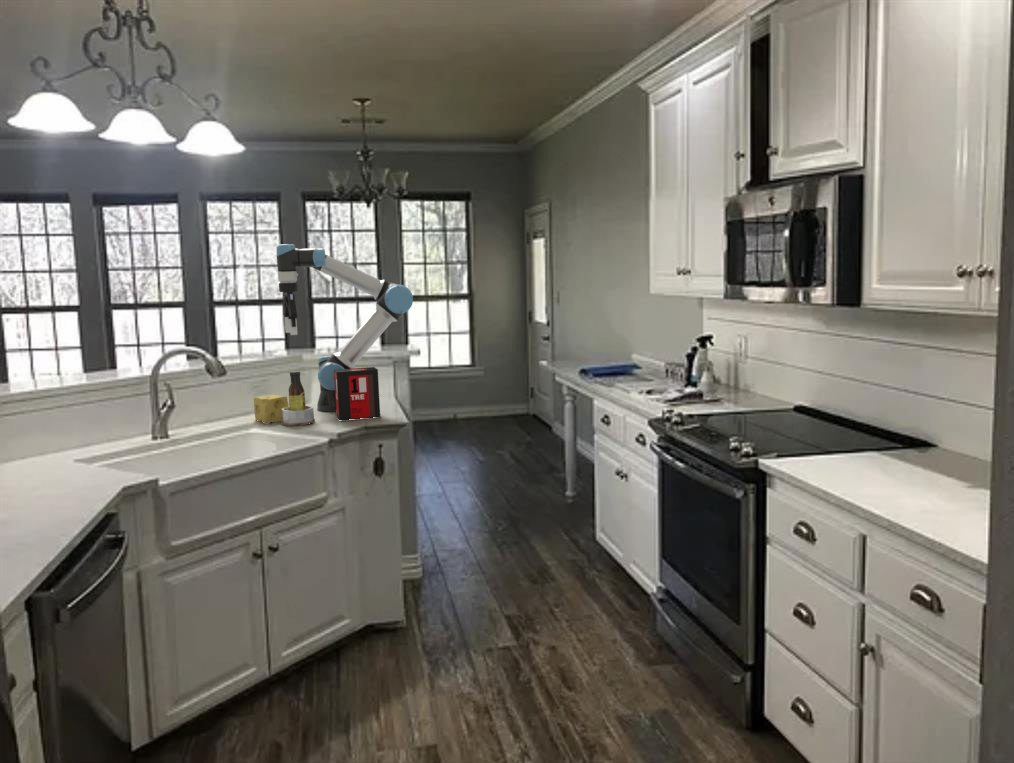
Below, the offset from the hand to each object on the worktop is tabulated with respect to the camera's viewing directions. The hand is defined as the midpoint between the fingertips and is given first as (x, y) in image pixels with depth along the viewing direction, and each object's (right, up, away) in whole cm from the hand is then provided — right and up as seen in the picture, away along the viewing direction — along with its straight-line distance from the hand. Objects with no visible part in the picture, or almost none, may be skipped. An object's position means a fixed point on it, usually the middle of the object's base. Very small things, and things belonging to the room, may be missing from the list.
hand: (291, 333), depth 356 cm
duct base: (+5, -36, -10) cm, 38 cm away
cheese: (-8, -36, -2) cm, 37 cm away
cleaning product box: (+28, -35, -3) cm, 45 cm away
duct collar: (+5, -36, -10) cm, 38 cm away
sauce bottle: (+5, -36, -11) cm, 38 cm away
